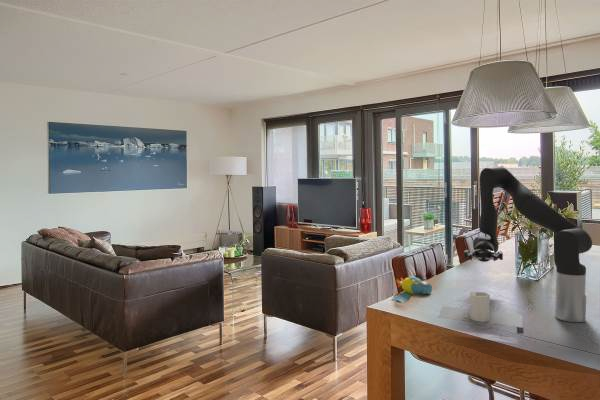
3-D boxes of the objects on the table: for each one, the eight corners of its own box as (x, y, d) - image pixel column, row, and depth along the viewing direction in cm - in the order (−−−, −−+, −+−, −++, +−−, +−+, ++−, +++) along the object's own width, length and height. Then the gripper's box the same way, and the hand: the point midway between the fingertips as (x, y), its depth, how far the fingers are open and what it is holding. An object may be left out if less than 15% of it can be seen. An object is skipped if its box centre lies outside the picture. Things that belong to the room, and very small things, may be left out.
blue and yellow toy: (412, 268, 210) (443, 273, 200) (412, 286, 210) (442, 292, 200) (383, 280, 188) (415, 286, 179) (382, 300, 189) (415, 307, 179)
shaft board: (521, 318, 162) (522, 292, 161) (523, 331, 149) (523, 303, 149) (443, 309, 174) (443, 285, 173) (438, 321, 161) (438, 294, 160)
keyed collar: (489, 316, 160) (489, 292, 160) (488, 322, 155) (489, 297, 154) (470, 314, 163) (470, 290, 162) (469, 320, 157) (469, 295, 157)
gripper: (466, 241, 186) (462, 247, 171) (502, 242, 180) (502, 249, 165) (466, 259, 186) (463, 266, 172) (503, 260, 180) (502, 268, 165)
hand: (482, 257), depth 168 cm, fingers open, 8 cm apart
